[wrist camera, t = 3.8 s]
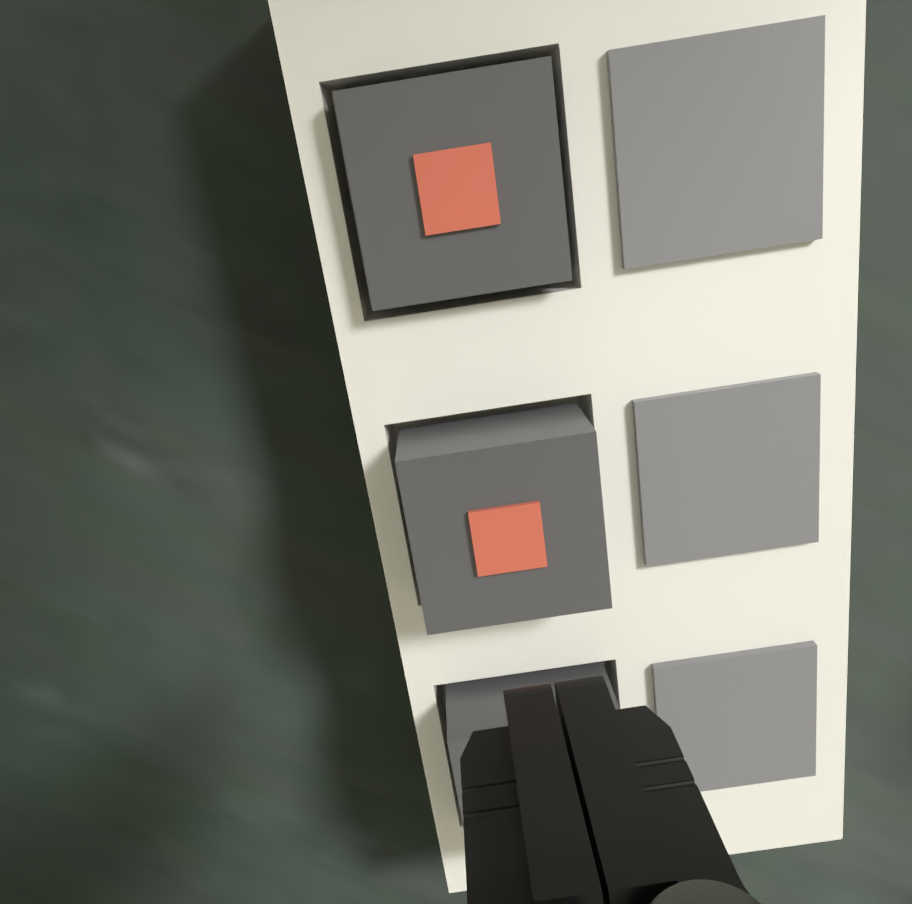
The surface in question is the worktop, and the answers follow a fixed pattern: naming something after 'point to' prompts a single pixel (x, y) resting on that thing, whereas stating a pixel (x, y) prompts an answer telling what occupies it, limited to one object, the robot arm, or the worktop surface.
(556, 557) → the button middle
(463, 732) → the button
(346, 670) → the worktop surface
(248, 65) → the worktop surface
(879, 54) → the worktop surface
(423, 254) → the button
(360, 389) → the power strip
